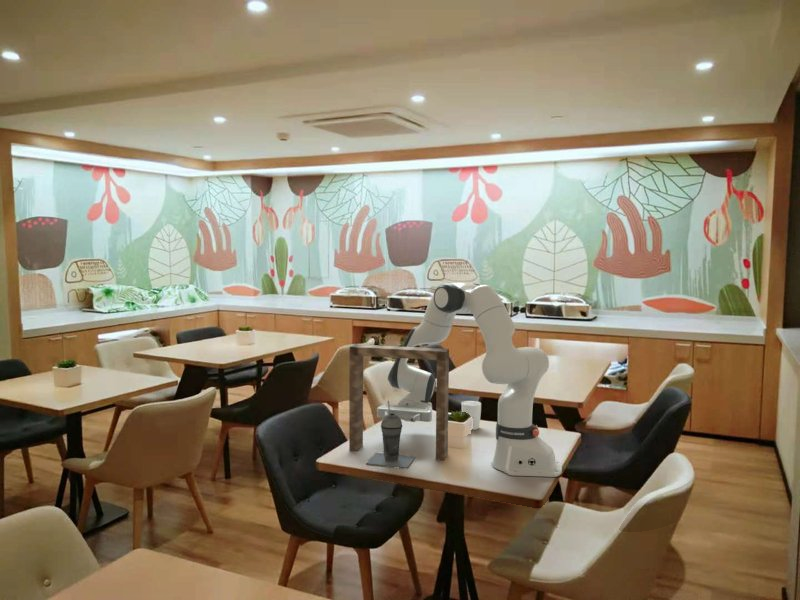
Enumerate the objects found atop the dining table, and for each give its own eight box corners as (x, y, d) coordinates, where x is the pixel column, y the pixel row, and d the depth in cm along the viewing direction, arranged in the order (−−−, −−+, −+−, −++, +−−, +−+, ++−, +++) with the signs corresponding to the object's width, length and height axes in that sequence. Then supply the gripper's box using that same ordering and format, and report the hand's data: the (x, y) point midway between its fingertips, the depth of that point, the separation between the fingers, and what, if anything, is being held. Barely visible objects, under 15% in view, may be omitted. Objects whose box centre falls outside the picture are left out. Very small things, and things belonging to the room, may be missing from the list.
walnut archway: (447, 454, 208) (449, 348, 205) (444, 460, 202) (445, 351, 199) (355, 445, 217) (355, 344, 214) (349, 450, 211) (349, 346, 208)
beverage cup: (399, 464, 196) (400, 404, 195) (378, 462, 198) (378, 402, 196) (404, 456, 203) (404, 398, 202) (383, 455, 205) (383, 397, 203)
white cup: (483, 426, 243) (483, 401, 242) (477, 431, 236) (477, 406, 235) (464, 423, 246) (464, 399, 245) (458, 428, 239) (458, 404, 238)
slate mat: (415, 457, 204) (415, 456, 204) (407, 468, 194) (407, 467, 193) (376, 454, 208) (376, 452, 208) (366, 464, 197) (366, 463, 197)
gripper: (382, 398, 226) (371, 407, 213) (435, 402, 221) (427, 412, 208) (382, 414, 227) (371, 424, 213) (435, 419, 221) (427, 429, 208)
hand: (399, 418), depth 210 cm, fingers open, 8 cm apart
